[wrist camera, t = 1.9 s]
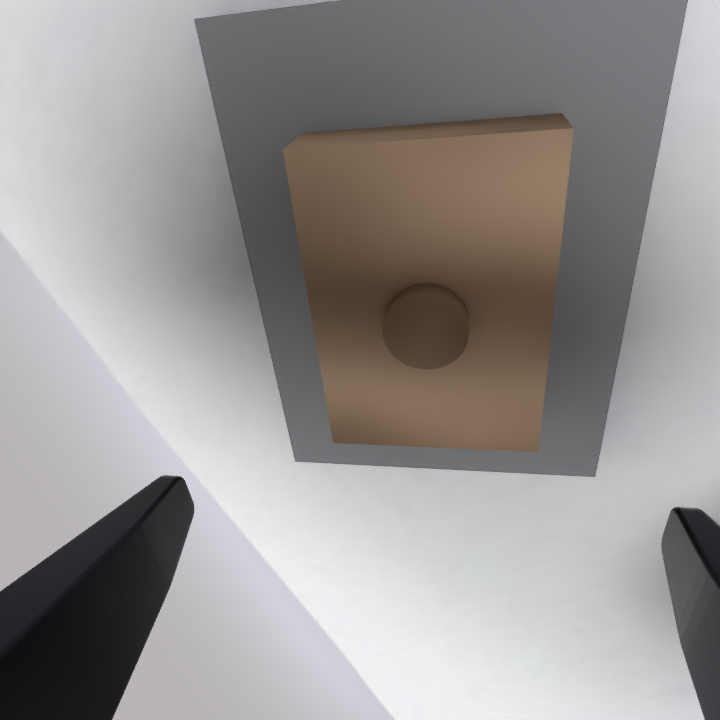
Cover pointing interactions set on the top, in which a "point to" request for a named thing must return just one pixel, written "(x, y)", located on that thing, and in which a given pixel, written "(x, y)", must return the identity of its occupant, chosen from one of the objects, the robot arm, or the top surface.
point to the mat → (448, 104)
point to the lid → (433, 276)
